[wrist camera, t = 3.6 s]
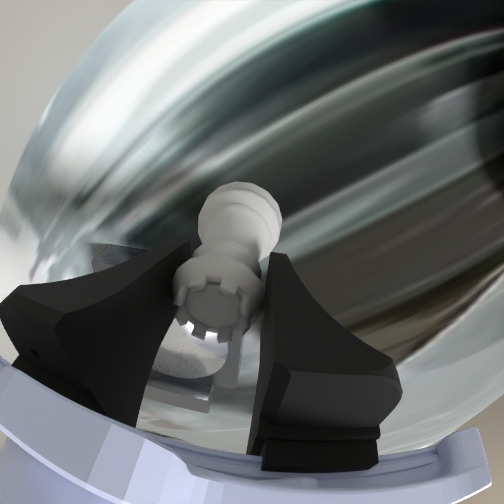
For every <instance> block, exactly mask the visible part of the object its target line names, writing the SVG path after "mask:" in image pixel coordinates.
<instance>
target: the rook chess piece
mask: <svg viewBox="0 0 504 504" xmlns="http://www.w3.org/2000/svg"><path fill="white" fill-rule="evenodd" d="M281 223H282V217H281V213H280V210H279V206H278V204H277V202H276V201H275V200H274V199H273V198H272V196H271V195H270V194H269V193H268V192H267V191H266V190H264V189H262V188H260V187H258V186H256V185H255V184H253V183H244V182H233V183H229V184H226V185H222V186H220V187H218V188H217V189H216V190H215V191H214V192H212V193H211V194H210V195H209V196H208V197H207V199H206V201H205V203H204V205H203V207H202V210H201V212H200V214H199V220H198V234H199V236H200V239H201V241H202V245H201V246H200V247H199V248H197V249H196V250H195V251H194V253H193V255H192V257H191V259H189V260H188V261H186V262H185V263H184V264H183V265H181V266H180V267H179V268H177V270H176V272H175V274H174V277H173V279H172V281H171V287H172V297H173V299H174V302H173V304H175V305H177V306H178V307H177V309H176V312H175V314H174V316H175V318H176V320H177V321H178V323H179V325H180V326H182V325H185V324H187V323H188V321H189V322H190V323H191V324H193V325H194V327H193V330H192V333H191V335H192V336H194V337H196V338H198V339H201V340H203V341H204V339H205V336H206V332H212V333H218V334H217V341H218V343H226V342H232V338H233V333H234V332H235V331H236V332H237V333H238V334H240V335H241V336H244V334H245V333H246V332H247V331H248V330H249V328H250V324H252V323H254V322H255V321H256V319H257V318H258V317H259V316H260V314H261V313H262V312H263V310H264V304H265V298H266V295H265V292H264V289H263V287H262V284H261V281H260V279H261V272H262V271H261V268H260V265H259V261H261V260H262V259H264V258H265V257H267V256H268V255H269V254H270V252H271V251H272V250H273V248H274V247H275V245H276V244H277V242H278V241H279V235H280V229H281Z"/></svg>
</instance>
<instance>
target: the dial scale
mask: <svg viewBox="0 0 504 504" xmlns="http://www.w3.org/2000/svg"><path fill="white" fill-rule="evenodd" d="M145 252H147V251H146V250H140V249H134V248H128V247H122V246H116V245H108V246H107V247H106V248H105V249H104V250H103V251H102V252H101V253H100V254H98V255H97V256H96V257H95V258H94V259H93V260H92V265H93V269H94V273H96V272H99V271H102V270H105V269H108V268H110V267H113V266H116V265H118V264H121V263H123V262H125V261H127V260H130V259H132V258H134V257H136V256H138V255H141V254H143V253H145ZM190 259H191V258H190ZM193 327H194V325H193V324H191V323H190V322H189V321H188V323H187V324H185V325H182V326H180V325H179V323H178V321H177V320H176V318H174V320H173V322H172V324H171V326H170V328H169V330H168V331H167V333H166V335H165V337H164V339H163V341H162V343H161V345H160V348H159V350H158V352H157V355H156V358H155V361H154V363H153V366H152V369H151V372H150V375H149V378H148V381H147V384H146V388H145V391H144V395H143V397H146V398H149V399H152V400H156V401H159V402H163V403H166V404H170V405H174V406H178V407H182V408H186V409H190V410H194V411H199V412H203V413H209V409H210V405H211V401H212V397H213V393H214V389H215V386H219V387H225V388H230V389H236V386H237V381H238V376H239V371H240V364H241V356H242V347H243V339H244V336H241V335H240V334H238V333H237V332H236V331H235V332H234V333H233V338H232V342H226V343H218V341H217V334H218V333H212V332H206V336H205V339H204V341H203V340H201V339H198V338H196V337H194V336H192V335H191V333H192V330H193Z"/></svg>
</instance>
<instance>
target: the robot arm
mask: <svg viewBox="0 0 504 504" xmlns="http://www.w3.org/2000/svg"><path fill="white" fill-rule="evenodd" d="M189 259H190V240H184V239H177V238H175V239H172V240H170V241H167V242H165V243H163V244H161V245H159V246H157V247H155V248H153V249H151V250H149V251H147V252H145V253H143V254H141V255H138V256H136V257H134V258H132V259H130V260H127V261H125V262H123V263H121V264H118V265H116V266H113V267H110V268H108V269H105V270H102V271H99V272H96V273H92V274H88V275H84V276H81V277H77V278H73V279H68V280H63V281H57V282H51V283H42V284H29V285H20V286H18V287H17V288H16V289H15V290H14V291H13V292H11V293H10V294H9V295H8V296H7V297H6V298H5V299H4V300H3V301H2V302H1V303H0V319H1V322H2V324H3V326H4V329H5V330H6V332H7V334H8V336H9V338H10V339H11V341H12V343H13V345H14V346H15V348H16V350H17V351H18V353H19V356H18V357H17V358H16V360H15V361H14V363H13V364H10V363H9V362H8V361H6V360H5V359H3V358H2V357H1V356H0V430H1V431H2V432H4V433H5V434H6V435H7V436H8V437H7V439H6V441H5V443H4V445H3V446H2V448H1V450H0V504H455V503H457V502H460V501H462V500H464V499H466V498H468V497H470V496H472V495H474V494H476V493H478V492H480V491H482V490H483V489H485V488H487V487H489V486H490V485H491V484H492V481H491V476H490V472H489V467H488V463H487V458H486V455H485V451H484V447H483V444H482V440H481V437H480V433H479V430H478V427H477V426H473V427H470V428H467V429H463V430H460V431H456V432H454V433H452V434H450V435H448V436H446V437H445V438H443V439H442V440H441V441H440V442H439V443H438V444H437V445H435V446H431V447H427V448H422V449H417V450H412V451H407V452H401V453H395V454H388V455H380V456H378V450H377V443H376V439H379V438H380V435H381V434H380V427H379V424H380V423H381V422H382V421H383V420H384V419H385V418H386V417H387V416H388V415H389V414H390V413H391V412H392V411H393V410H394V408H395V407H396V406H397V404H398V403H399V401H400V400H401V397H402V393H403V391H402V388H401V384H400V380H399V376H398V372H397V370H396V367H395V364H394V362H393V359H392V358H390V357H389V356H387V355H385V354H383V353H382V352H380V351H378V350H376V349H375V348H373V347H371V346H369V345H368V344H366V343H365V342H363V341H362V340H360V339H359V338H357V337H356V336H354V335H353V334H352V333H350V332H349V331H348V330H346V329H345V328H344V327H343V326H341V325H340V324H339V323H338V322H337V321H336V320H335V319H333V318H332V317H331V316H330V315H329V314H328V313H327V312H326V311H325V310H324V309H323V308H322V307H321V306H320V305H319V303H318V302H317V301H316V300H315V299H314V298H313V297H312V295H311V294H310V293H309V291H308V290H307V288H306V287H305V286H304V284H303V282H302V281H301V279H300V278H299V276H298V275H297V273H296V271H295V269H294V268H293V266H292V264H291V262H290V260H289V258H288V256H287V255H286V254H282V253H275V252H270V259H269V265H268V272H267V278H266V284H265V291H264V292H265V295H266V298H265V304H264V310H263V312H262V313H261V338H260V365H259V374H258V381H257V389H256V395H255V402H254V409H253V415H252V422H251V428H250V434H249V440H248V446H247V452H246V455H245V454H238V453H232V452H226V451H220V450H215V449H209V448H205V447H200V446H196V445H191V444H187V443H183V442H179V441H175V440H172V439H168V438H165V437H161V436H158V435H155V434H152V433H148V432H145V431H142V430H139V429H137V428H136V423H137V418H138V414H139V410H140V406H141V402H142V398H143V395H144V391H145V388H146V384H147V381H148V378H149V375H150V372H151V369H152V366H153V363H154V361H155V358H156V355H157V352H158V350H159V348H160V345H161V343H162V341H163V339H164V337H165V335H166V333H167V331H168V330H169V328H170V326H171V324H172V322H173V320H174V318H175V316H174V314H175V312H176V309H177V307H178V306H177V305H175V304H173V302H174V299H173V297H172V287H171V281H172V279H173V277H174V274H175V272H176V270H177V268H179V267H180V266H181V265H183V264H184V263H185V262H186V261H188V260H189Z"/></svg>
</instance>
